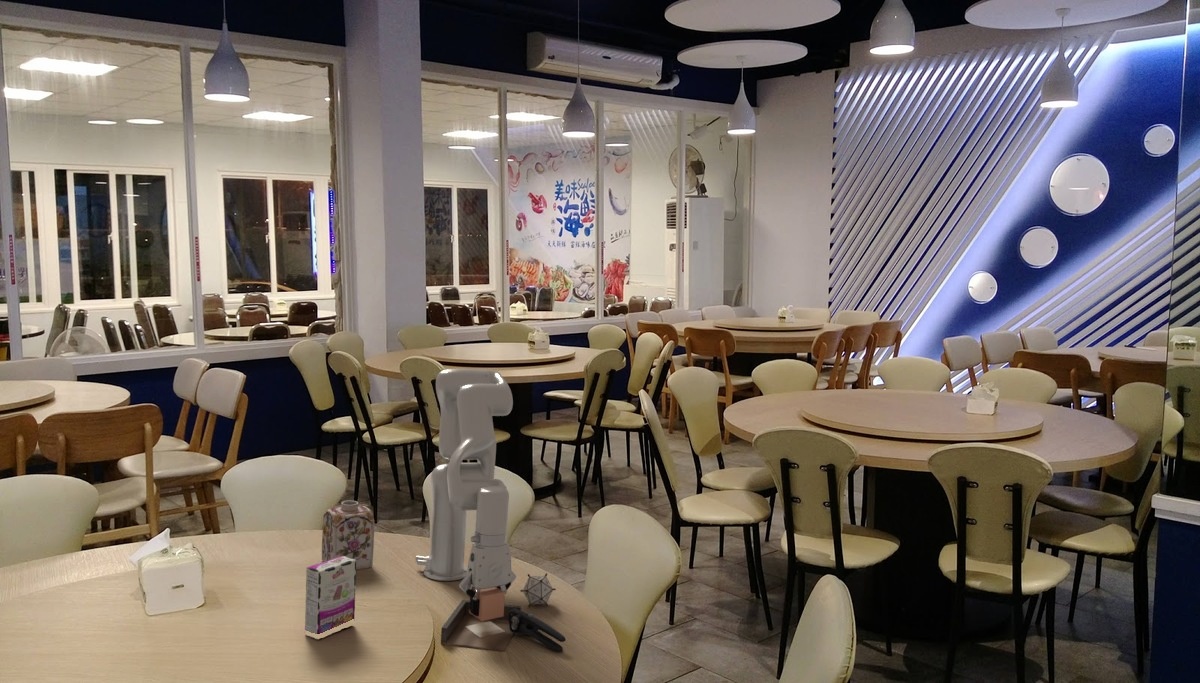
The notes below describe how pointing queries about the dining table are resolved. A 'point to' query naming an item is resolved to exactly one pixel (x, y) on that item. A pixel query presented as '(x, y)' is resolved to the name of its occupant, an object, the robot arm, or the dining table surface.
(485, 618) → the cube
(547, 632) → the can opener
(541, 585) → the game die
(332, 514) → the decorative jar
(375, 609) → the dining table surface
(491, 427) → the robot arm
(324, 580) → the candy bar box
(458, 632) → the tray
